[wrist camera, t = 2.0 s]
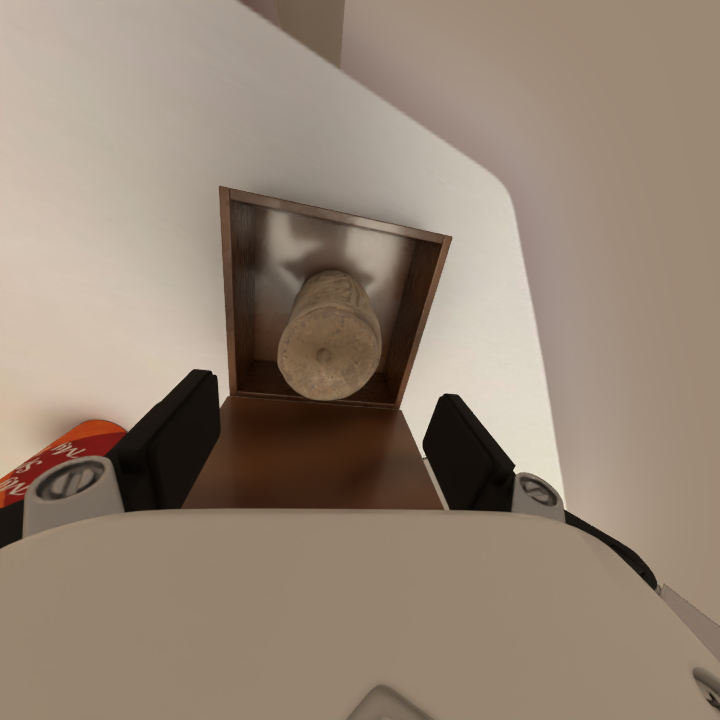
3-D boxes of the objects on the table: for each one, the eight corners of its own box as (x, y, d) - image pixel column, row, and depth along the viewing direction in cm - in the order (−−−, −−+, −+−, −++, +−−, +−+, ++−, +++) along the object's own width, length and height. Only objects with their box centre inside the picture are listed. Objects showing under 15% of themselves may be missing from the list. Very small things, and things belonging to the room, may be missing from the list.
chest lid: (19, 721, 7) (29, 729, 7) (512, 662, 10) (503, 671, 10) (227, 395, 21) (227, 403, 21) (401, 409, 24) (399, 416, 24)
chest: (249, 197, 21) (218, 185, 15) (422, 234, 23) (453, 236, 18) (250, 361, 27) (229, 396, 22) (385, 375, 30) (399, 410, 24)
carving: (284, 324, 25) (252, 392, 15) (315, 251, 23) (304, 271, 12) (341, 348, 27) (349, 425, 17) (376, 285, 24) (412, 327, 14)
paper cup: (94, 400, 27) (-99, 541, 15) (156, 441, 31) (42, 584, 18) (48, 434, 29) (-163, 590, 16) (113, 470, 32) (-21, 621, 20)
